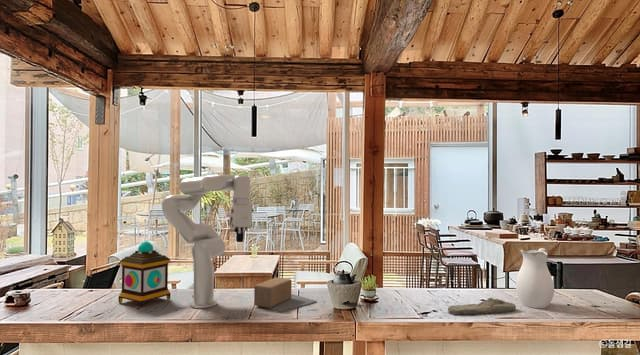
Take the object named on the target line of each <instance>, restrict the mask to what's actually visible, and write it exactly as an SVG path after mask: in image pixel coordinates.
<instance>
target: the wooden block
mask: <svg viewBox="0 0 640 355" xmlns="http://www.w3.org/2000/svg"><path fill="white" fill-rule="evenodd" d="M253 287H254V289H253V292H254V293H253V294H254V296H253V300H254V302H253V304H254V306H257V307H260V308H261V307H262V308H266V307H267V308H266V309H269V308H272V307H274V306H276V305H278V304H280V303H282V302H284V301H286V300H288V299H290V298H291V295H292V279H291V278H286V277H285V278H283V277H274V278H271V279H268V280H265V281H263V282H260V283H258V284H255V285H254V286H253Z"/></svg>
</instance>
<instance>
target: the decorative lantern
mask: <svg viewBox="0 0 640 355" xmlns="http://www.w3.org/2000/svg"><path fill="white" fill-rule="evenodd" d="M170 261H171V258H169V257H168V256H166V255H164V254H161V253H159V252H157V250H156V249H155V250H154V246H153V244H152V243H151V242H149V241H147V240H145V241H143V242H141V243H140V244H139V246H138V248H137V250H135V251H134V252H133V253H132V254H130V255H128V256H125V257H124V258H121V260H120V261H119V263H120V265H121V271H122V272H121V291H120V293H119V295H118V299H117V301H118V304H122V303H123V301H124V300H128V301H133V302H137V303H138V305H139V308H140V309H142V308H143V307H144V303H145V302H148V301H151V300H155V299H156V300H157V299H159V298H162V297H165V298H166V300H167V301H170V299H171V292H170V290H169V289H168V288H169V287H168V284H169V283H168V282H169V280H168V277H169V276H168V275H169V264H170ZM123 299H124V300H123Z"/></svg>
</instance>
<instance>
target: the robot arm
mask: <svg viewBox="0 0 640 355" xmlns="http://www.w3.org/2000/svg"><path fill="white" fill-rule="evenodd" d="M178 189H179V191H180V193H182V194H172V195H168V196H165V198H164V199H163V200H162V203H161V211H162V214H163V216H164V218H165V219H166V220H167V221H168V222H169V224H171V225H172V227H174V229H175V231H177V233H178V234H179V235H180V236H181V238H182V239H184V241H185V242H186V243H187V244H193V245H192V247H191V254H192V260H193V294H192V295H191V298H192V299H193V300H191V301H190V303H189V306H190V307H191V308H195V309H207V308H212V307H215V306H216V305H217V304H218V301H217V300H216V299H215V298H214V297H215V295H214V294H215V293H214V291H215V267H214V263H213V260H212V258H216V257H217V258H218V257H220V256H222V255H224V253H225V251H226V244H225V241H224V240H223V238H222V237H221V236H220V235H219V234H218V233H217V232H216V230H215V229H214V228H213V227H212V226H211V225H210V224H208V223H204V222H203V223H195V222H193V220H192V219H191V218H190V217H189V216H188V215H187V214H185V213H183V212H188V211H191V210H193V209H195V208H196V206H197V205H198V204H199V203H200V201H201V199H203V197H204V196H205V195H206V194H207V195H208V194H209V193H210V192H219V191H220V192H222V191H230V192H231V191H232V192H233V194H232V199H231V200H230V203H232V204H231V207H230V214H229V222H228V224H229V226H230V227H229V229H230V230H233V231H234V233H235V241H236V242H237V243H244V237H245V236H244V235H245V233H246V231H247V230H248V229H250V228H251V226H252V225H253V211H252V206H251V204H250V199H251V198H250V192H251V191H250V190H251V177H250V176H247V175H234V174H211V175H205V176H196V177H189V178H187V177H186V178H184V179H182V180H181V181H180V182H179V184H178Z"/></svg>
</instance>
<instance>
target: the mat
mask: <svg viewBox="0 0 640 355" xmlns="http://www.w3.org/2000/svg"><path fill="white" fill-rule="evenodd" d="M315 303H318V301H317V300H314V299H310V298H308V297H303V296H301V295H297V294H294V293H291V298H290V299H288V300H286V301H284V302H282V303H280V304H278V305H276V306H274V307H272V308H267V307H265V308H266V309H270V310H272V311H275V312H278V313H283V312H287V311H291V310H294V309H297V308H302V307H305V306H308V305H312V304H315Z"/></svg>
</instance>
